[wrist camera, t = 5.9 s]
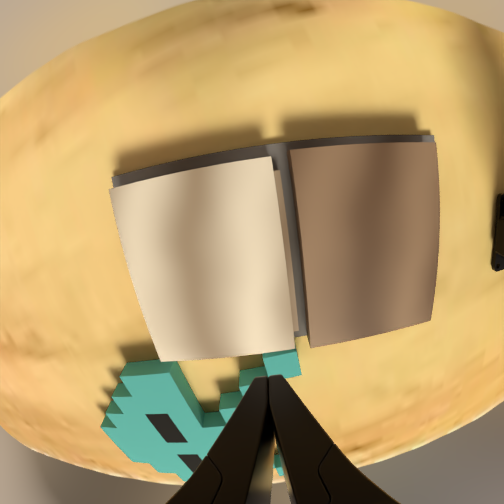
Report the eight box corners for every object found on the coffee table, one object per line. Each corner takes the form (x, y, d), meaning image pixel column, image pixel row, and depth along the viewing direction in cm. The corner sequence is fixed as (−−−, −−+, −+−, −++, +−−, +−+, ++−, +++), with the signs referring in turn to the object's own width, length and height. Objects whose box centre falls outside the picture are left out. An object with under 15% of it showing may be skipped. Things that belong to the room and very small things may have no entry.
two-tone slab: (431, 135, 15) (446, 134, 13) (429, 305, 19) (441, 317, 17) (113, 176, 16) (100, 179, 14) (162, 348, 20) (155, 363, 18)
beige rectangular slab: (276, 155, 15) (278, 155, 14) (298, 334, 19) (301, 347, 17) (119, 186, 16) (108, 189, 14) (166, 348, 19) (161, 361, 18)
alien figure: (292, 332, 20) (73, 363, 21) (296, 351, 18) (63, 377, 19) (319, 461, 26) (162, 473, 27) (322, 475, 24) (159, 486, 25)
